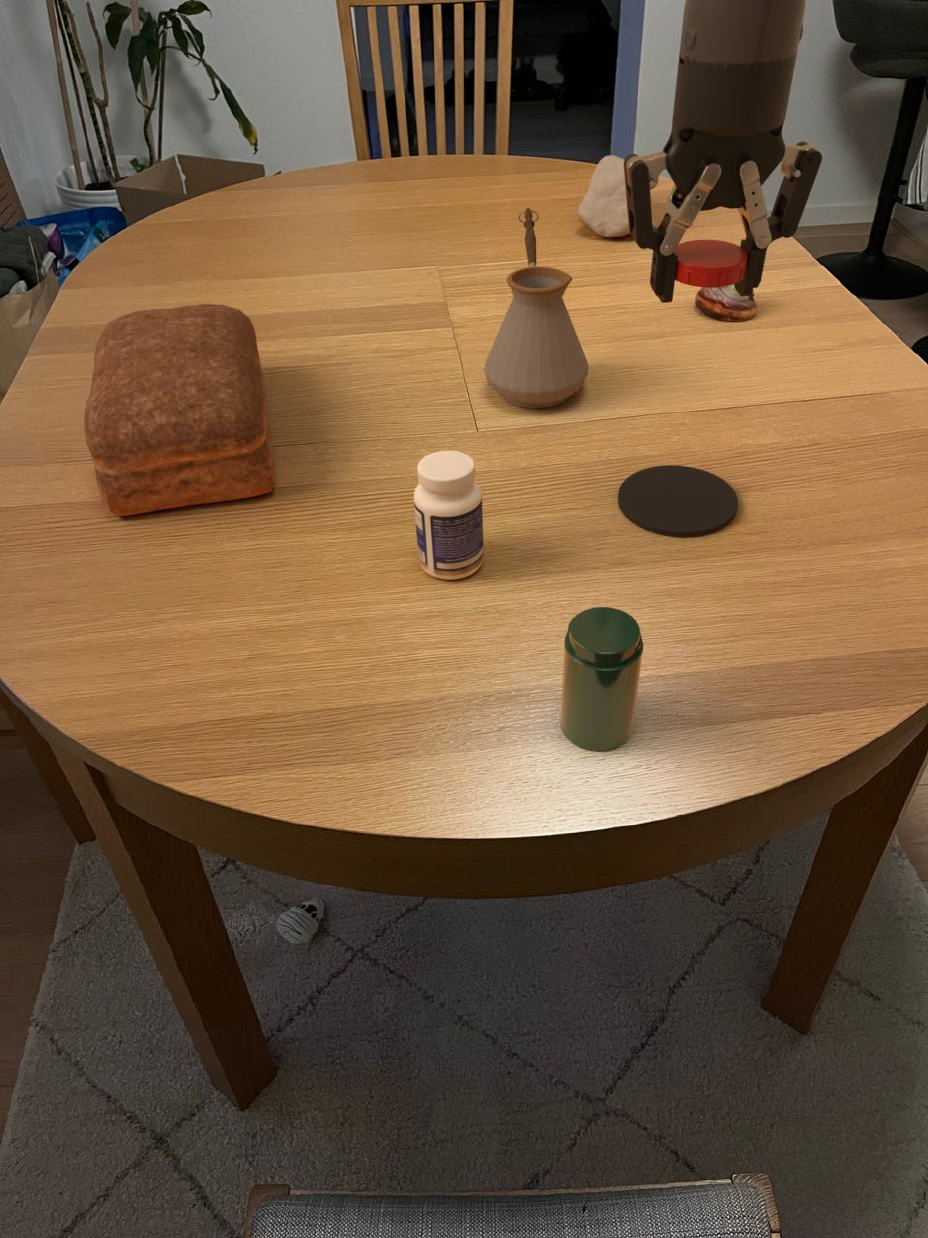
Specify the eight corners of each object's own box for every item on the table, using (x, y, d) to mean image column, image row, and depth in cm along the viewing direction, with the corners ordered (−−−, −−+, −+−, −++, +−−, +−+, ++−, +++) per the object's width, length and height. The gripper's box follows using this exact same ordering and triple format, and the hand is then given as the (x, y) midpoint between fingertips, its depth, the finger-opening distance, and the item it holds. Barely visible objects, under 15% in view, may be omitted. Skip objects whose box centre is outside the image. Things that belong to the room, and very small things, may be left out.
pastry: (768, 315, 117) (776, 275, 113) (719, 327, 115) (726, 287, 111) (729, 292, 122) (735, 254, 119) (681, 304, 120) (686, 265, 117)
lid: (659, 281, 70) (661, 261, 69) (680, 254, 74) (682, 235, 73) (734, 292, 68) (738, 271, 67) (752, 264, 72) (755, 244, 71)
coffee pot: (593, 415, 100) (602, 276, 90) (486, 419, 100) (483, 281, 90) (573, 329, 116) (578, 203, 106) (480, 332, 116) (478, 207, 106)
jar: (635, 702, 68) (647, 608, 62) (629, 756, 65) (642, 661, 58) (565, 693, 69) (570, 599, 63) (555, 745, 65) (560, 651, 59)
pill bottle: (496, 554, 82) (494, 457, 75) (461, 590, 79) (457, 491, 72) (441, 535, 84) (435, 439, 78) (405, 569, 81) (396, 472, 74)
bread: (264, 365, 111) (246, 270, 103) (281, 501, 89) (260, 393, 82) (118, 384, 109) (89, 288, 101) (99, 528, 87) (60, 419, 80)
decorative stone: (660, 224, 134) (625, 161, 130) (601, 263, 139) (565, 204, 134) (657, 195, 148) (625, 137, 144) (602, 231, 152) (570, 177, 148)
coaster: (747, 483, 89) (749, 478, 89) (723, 548, 82) (724, 542, 81) (636, 461, 93) (636, 456, 92) (602, 521, 85) (603, 516, 85)
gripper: (822, 26, 64) (775, 270, 75) (617, 39, 63) (601, 283, 75) (869, 49, 59) (811, 308, 70) (645, 63, 58) (623, 323, 69)
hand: (702, 294), depth 72 cm, fingers closed on lid, 5 cm apart
